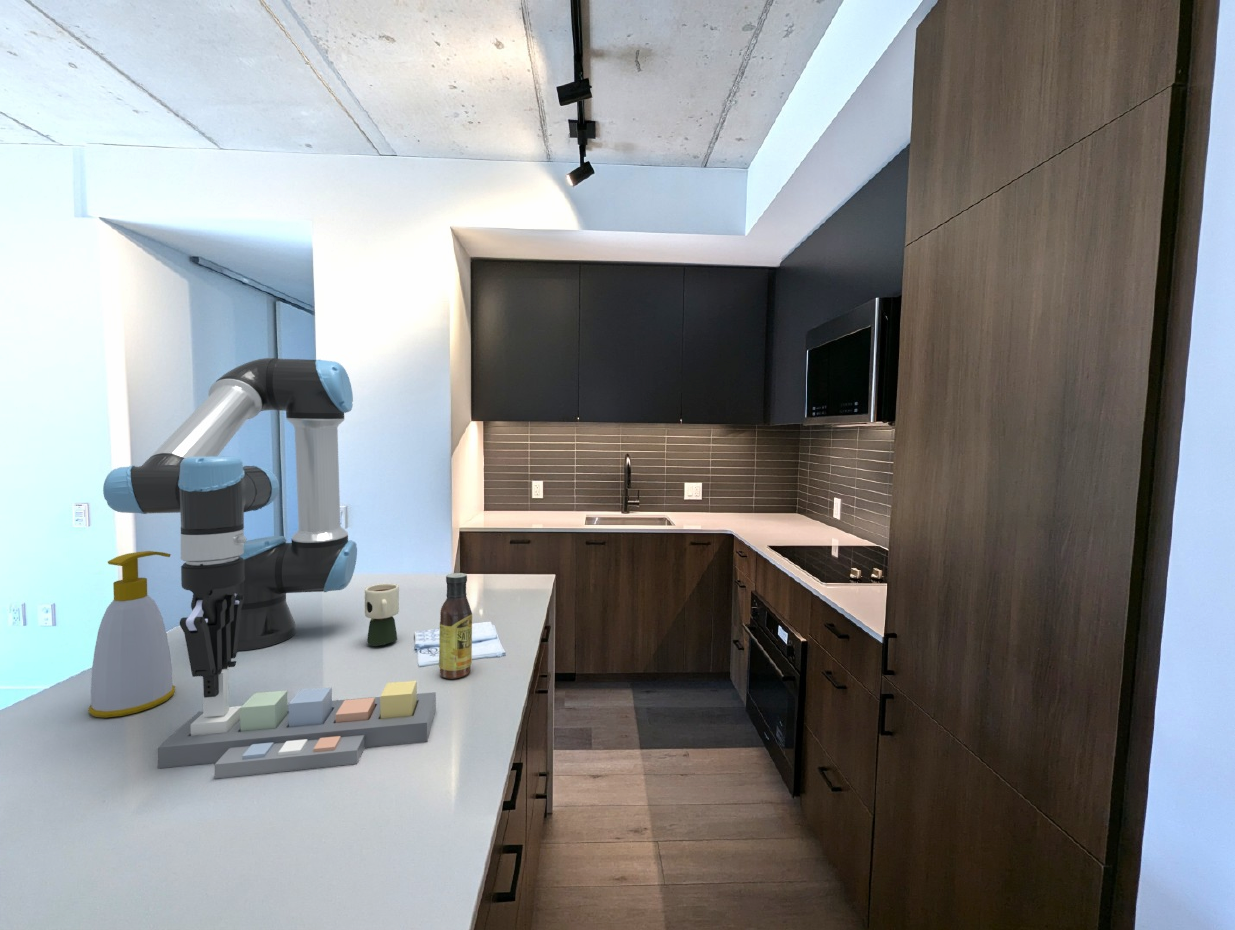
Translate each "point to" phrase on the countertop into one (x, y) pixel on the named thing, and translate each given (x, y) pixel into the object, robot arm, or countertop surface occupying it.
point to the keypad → (296, 742)
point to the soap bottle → (130, 648)
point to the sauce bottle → (455, 629)
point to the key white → (216, 723)
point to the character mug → (381, 613)
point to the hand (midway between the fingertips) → (216, 713)
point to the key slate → (310, 707)
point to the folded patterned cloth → (482, 644)
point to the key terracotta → (355, 710)
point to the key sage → (264, 711)
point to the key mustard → (399, 699)
